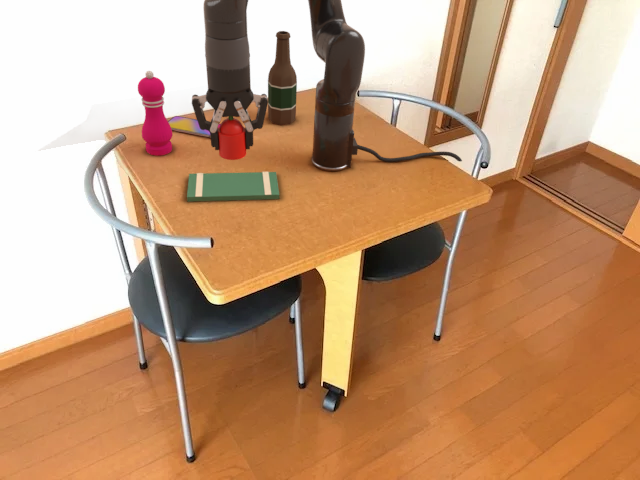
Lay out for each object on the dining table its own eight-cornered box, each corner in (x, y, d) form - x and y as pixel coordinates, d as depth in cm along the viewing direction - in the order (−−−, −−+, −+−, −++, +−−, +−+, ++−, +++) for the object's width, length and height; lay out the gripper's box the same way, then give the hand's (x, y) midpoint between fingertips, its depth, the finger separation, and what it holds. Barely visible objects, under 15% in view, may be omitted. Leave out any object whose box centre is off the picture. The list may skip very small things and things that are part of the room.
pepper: (245, 146, 109) (244, 107, 104) (247, 159, 105) (245, 119, 100) (219, 147, 108) (216, 107, 103) (219, 160, 104) (216, 119, 99)
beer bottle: (294, 126, 152) (297, 38, 138) (266, 124, 152) (266, 36, 138) (296, 114, 159) (299, 28, 144) (269, 113, 158) (269, 27, 144)
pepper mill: (166, 158, 134) (157, 78, 122) (139, 154, 135) (126, 74, 123) (178, 145, 140) (170, 67, 128) (152, 141, 141) (141, 63, 129)
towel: (276, 176, 130) (276, 171, 130) (279, 199, 123) (279, 194, 122) (189, 178, 127) (189, 173, 127) (187, 201, 120) (186, 196, 119)
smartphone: (175, 115, 152) (225, 124, 149) (175, 117, 152) (225, 127, 149) (161, 126, 146) (213, 136, 143) (162, 128, 147) (213, 138, 143)
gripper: (184, 68, 92) (193, 158, 102) (271, 67, 94) (271, 156, 104) (186, 52, 97) (195, 139, 108) (267, 52, 99) (268, 138, 110)
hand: (232, 147), depth 106 cm, fingers closed on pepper, 5 cm apart
